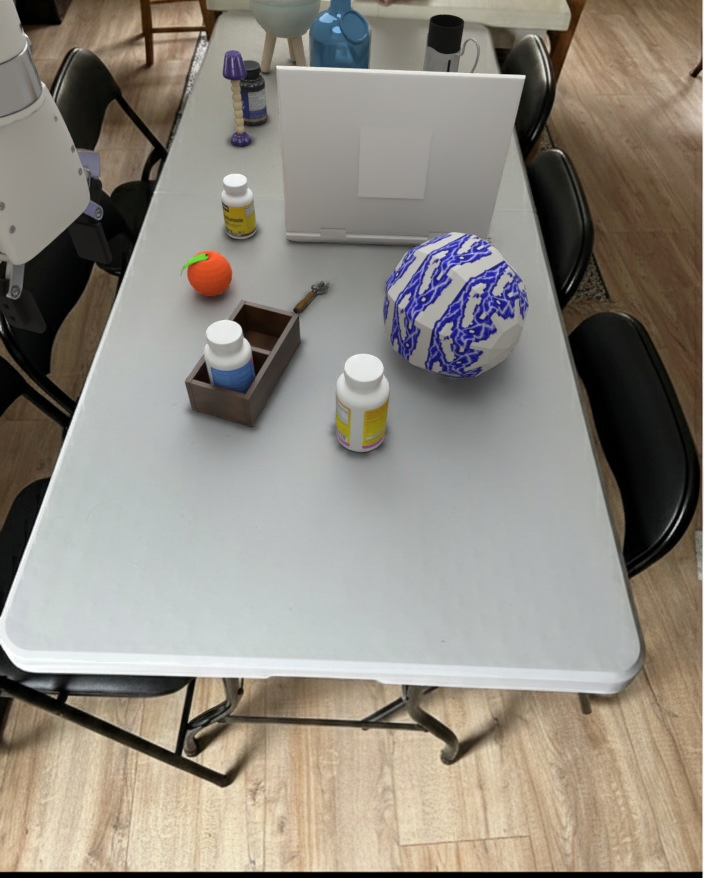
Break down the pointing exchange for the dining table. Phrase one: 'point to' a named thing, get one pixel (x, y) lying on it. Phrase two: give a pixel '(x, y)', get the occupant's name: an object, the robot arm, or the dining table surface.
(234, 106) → the toy lamp
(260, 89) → the pill bottle
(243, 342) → the pill bottle
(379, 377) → the supplement bottle
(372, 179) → the laptop
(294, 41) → the planter
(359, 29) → the wine bottle
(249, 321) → the caddy
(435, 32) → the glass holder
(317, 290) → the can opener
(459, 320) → the ornament
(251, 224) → the supplement bottle
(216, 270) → the clementine
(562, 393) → the dining table surface
